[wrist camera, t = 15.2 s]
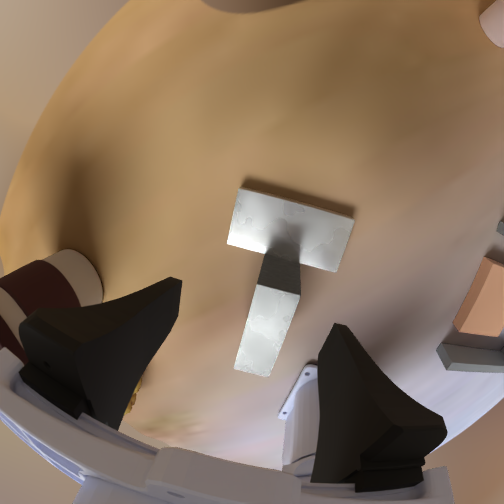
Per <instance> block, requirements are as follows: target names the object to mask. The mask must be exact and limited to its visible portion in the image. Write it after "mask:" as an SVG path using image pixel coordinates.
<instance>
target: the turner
mask: <svg viewBox="0 0 504 504" xmlns="http://www.w3.org/2000/svg"><path fill="white" fill-rule="evenodd" d="M354 221H355V220H354V219H353V217H351V216H348V215H345V214H341V213H338V212H335V211H331V210H328V209H325V208H321V207H318V206H314V205H311V204H307V203H304V202H300V201H296V200H293V199H289V198H285V197H282V196H278V195H274V194H270V193H266V192H262V191H258V190H254V189H250V188H246V187H242V186H241V187H240V188H239V189H238V194H237V198H236V203H235V208H234V212H233V217H232V222H231V227H230V231H229V236H228V241H227V244H230V245H234V246H238V247H241V248H245V249H249V250H253V251H256V252H260V253H264V254H265V256H264V259H263V263H262V267H261V271H260V274H259V278H258V282H257V285H256V289H255V293H254V296H253V300H252V304H251V307H250V311H249V315H248V318H247V322H246V326H245V329H244V333H243V336H242V340H241V344H240V347H239V351H238V354H237V358H236V362H235V365H234V369H237V370H241V371H244V372H248V373H252V374H256V375H261V376H265V377H269V375H270V373H271V370H272V368H273V365H274V363H275V361H276V358H277V356H278V353H279V351H280V348H281V346H282V343H283V341H284V338H285V336H286V333H287V331H288V328H289V326H290V323H291V320H292V318H293V315H294V313H295V310H296V307H297V305H298V302H299V299H300V296H301V286H300V263H301V264H305V265H309V266H313V267H316V268H320V269H324V270H328V271H331V272H335V273H336V272H337V269H338V266H339V264H340V261H341V258H342V256H343V253H344V250H345V247H346V245H347V242H348V239H349V236H350V233H351V230H352V227H353V224H354Z"/></svg>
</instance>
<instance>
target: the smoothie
mask: <svg viewBox="0 0 504 504" xmlns="http://www.w3.org/2000/svg"><path fill="white" fill-rule="evenodd" d="M479 21H480V24H481V27H482V29H483V31H484V32H485V34H486V35H487V37H488V38H489V39H490V40H491V41H492V42H493V43H494V44H495V45H497V46H498V47H501V48H504V0H496V1H495V2H494V3H493V4H492V5H491V6H489V7H488V8H487V9H486V10H485V11H484V12H483V13H482V14H481V15H480V16H479Z"/></svg>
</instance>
